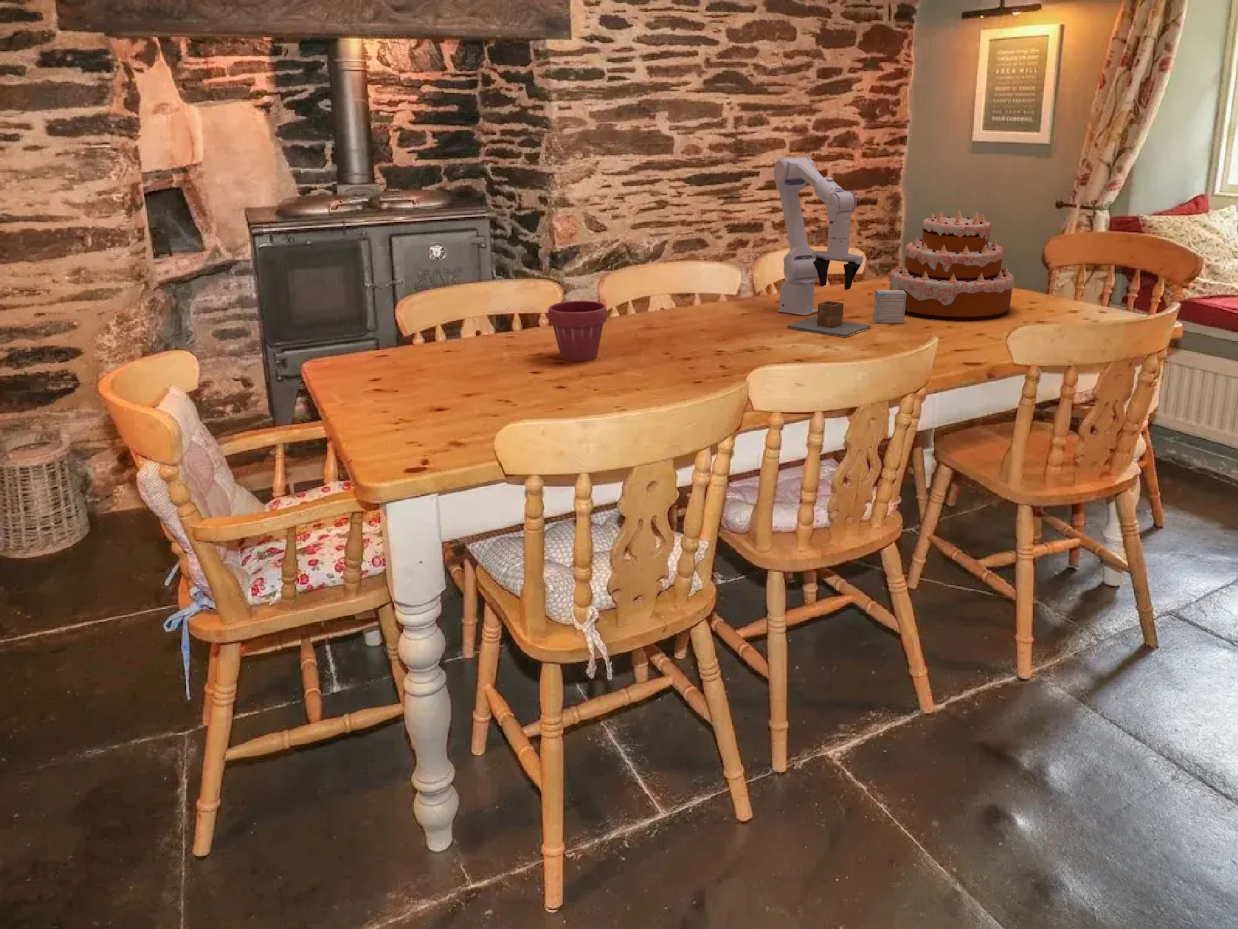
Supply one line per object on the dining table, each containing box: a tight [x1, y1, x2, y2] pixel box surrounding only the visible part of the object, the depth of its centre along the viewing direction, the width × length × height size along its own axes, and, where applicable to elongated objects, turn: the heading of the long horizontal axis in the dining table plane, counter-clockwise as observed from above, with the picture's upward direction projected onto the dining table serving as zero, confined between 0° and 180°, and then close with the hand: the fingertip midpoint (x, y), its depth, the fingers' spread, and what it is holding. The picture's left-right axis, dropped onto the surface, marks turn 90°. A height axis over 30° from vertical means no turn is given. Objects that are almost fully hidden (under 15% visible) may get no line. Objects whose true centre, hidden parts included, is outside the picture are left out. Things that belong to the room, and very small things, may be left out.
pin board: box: [786, 316, 872, 338], centre depth 275 cm, size 18×14×4 cm
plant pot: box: [547, 300, 608, 362], centre depth 248 cm, size 14×14×13 cm
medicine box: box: [873, 289, 906, 324], centre depth 280 cm, size 8×4×9 cm, turn 84°
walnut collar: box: [816, 300, 845, 328], centre depth 274 cm, size 5×5×6 cm
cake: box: [888, 210, 1016, 322], centre depth 292 cm, size 35×35×28 cm
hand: (835, 287), depth 277 cm, fingers open, 7 cm apart
